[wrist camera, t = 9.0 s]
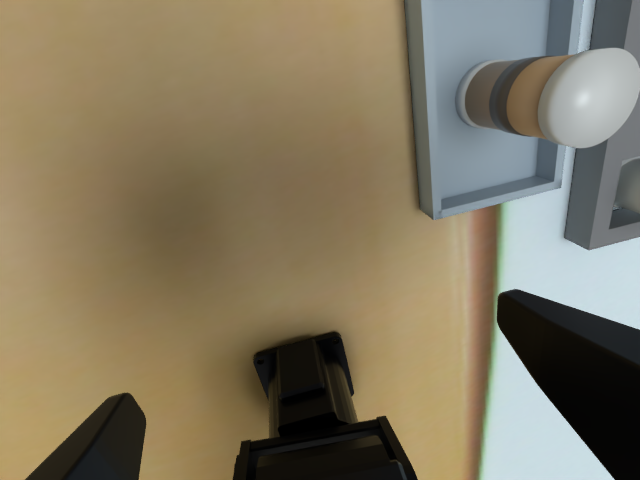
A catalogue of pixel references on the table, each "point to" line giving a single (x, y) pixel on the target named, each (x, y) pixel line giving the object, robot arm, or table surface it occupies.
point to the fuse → (629, 185)
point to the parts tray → (440, 91)
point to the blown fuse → (552, 96)
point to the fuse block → (607, 145)
